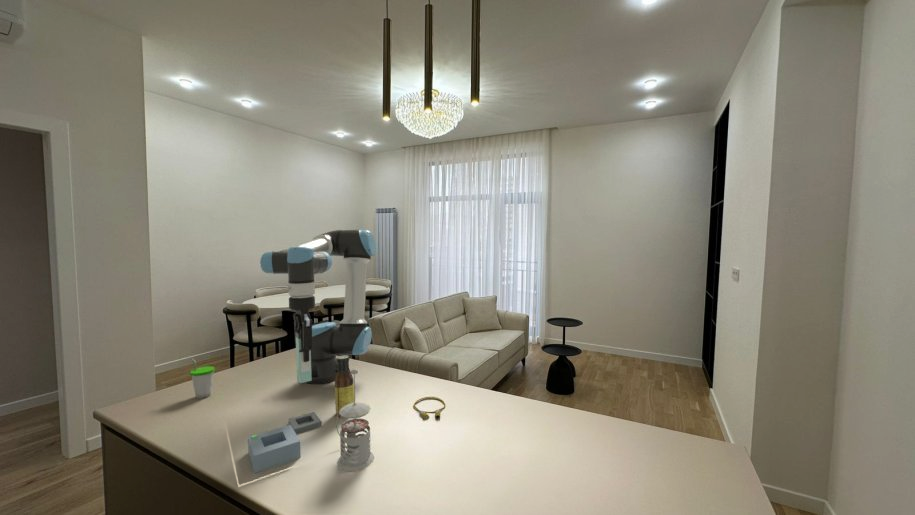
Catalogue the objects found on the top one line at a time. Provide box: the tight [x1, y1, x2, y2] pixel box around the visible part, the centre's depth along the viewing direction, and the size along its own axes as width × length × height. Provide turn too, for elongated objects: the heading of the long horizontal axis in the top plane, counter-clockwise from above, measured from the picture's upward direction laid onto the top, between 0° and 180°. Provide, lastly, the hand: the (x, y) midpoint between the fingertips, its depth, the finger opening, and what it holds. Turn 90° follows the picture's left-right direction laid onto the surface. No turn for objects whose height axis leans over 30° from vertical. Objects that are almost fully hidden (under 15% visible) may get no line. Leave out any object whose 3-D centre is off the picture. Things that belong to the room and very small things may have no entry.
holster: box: [287, 411, 322, 435], centre depth 115 cm, size 8×8×2 cm
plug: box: [295, 331, 312, 384], centre depth 114 cm, size 4×4×16 cm
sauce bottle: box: [334, 354, 354, 418], centre depth 122 cm, size 7×6×20 cm
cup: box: [189, 357, 216, 400], centre depth 137 cm, size 8×8×15 cm
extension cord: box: [412, 396, 446, 420], centre depth 127 cm, size 12×16×2 cm
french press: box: [335, 368, 375, 472], centre depth 97 cm, size 10×12×25 cm
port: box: [247, 424, 301, 474], centre depth 99 cm, size 11×11×5 cm
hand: (304, 368), depth 114 cm, fingers closed on plug, 3 cm apart
